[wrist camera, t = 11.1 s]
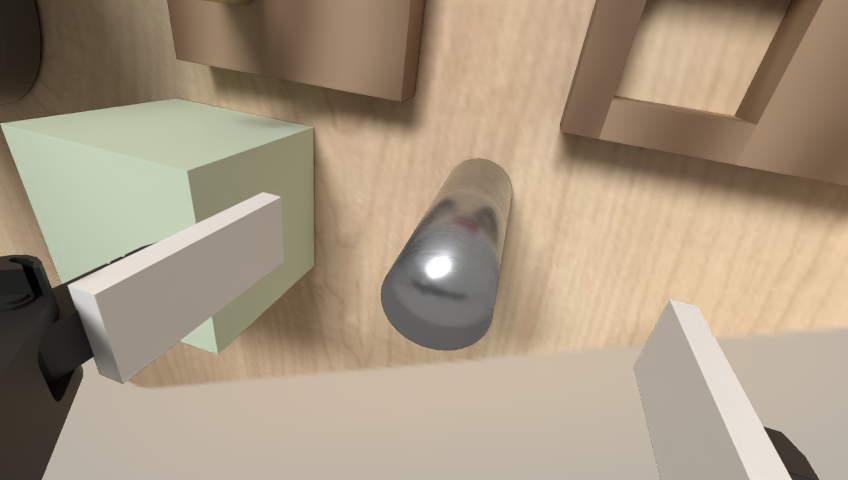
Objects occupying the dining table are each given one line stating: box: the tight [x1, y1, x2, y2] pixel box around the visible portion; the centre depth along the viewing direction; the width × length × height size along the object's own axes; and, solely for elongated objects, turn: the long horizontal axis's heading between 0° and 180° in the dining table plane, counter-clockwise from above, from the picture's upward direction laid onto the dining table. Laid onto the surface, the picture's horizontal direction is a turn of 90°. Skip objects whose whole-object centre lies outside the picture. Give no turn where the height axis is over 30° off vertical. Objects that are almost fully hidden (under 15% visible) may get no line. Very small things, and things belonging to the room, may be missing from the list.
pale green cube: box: [0, 98, 314, 354], centre depth 21 cm, size 9×9×9 cm
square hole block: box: [560, 0, 848, 186], centre depth 13 cm, size 12×10×2 cm
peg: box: [381, 159, 512, 350], centre depth 16 cm, size 3×3×10 cm
